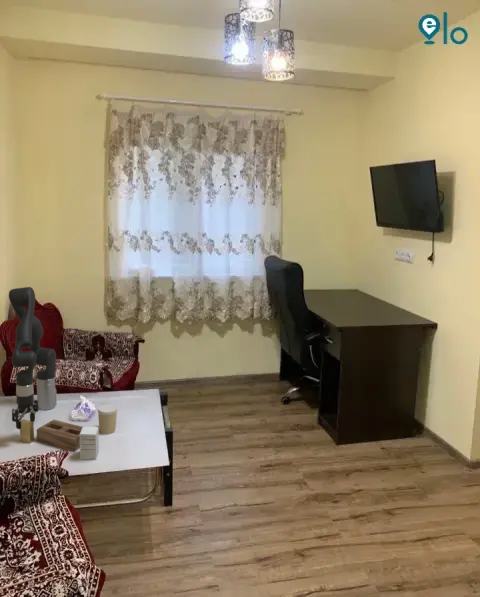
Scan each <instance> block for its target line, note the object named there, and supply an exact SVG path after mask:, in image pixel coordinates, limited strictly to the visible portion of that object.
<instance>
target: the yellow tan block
mask: <svg viewBox="0 0 480 597" xmlns="http://www.w3.org/2000/svg"><path fill="white" fill-rule="evenodd" d="M34 422H35V421H34ZM34 422H32V421H30V420H28V419H24V418H22V419H21V429H19V441H20V442H22V443H23V442H24V443H26V444H32V443H34V442H35V427H34Z"/></svg>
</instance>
